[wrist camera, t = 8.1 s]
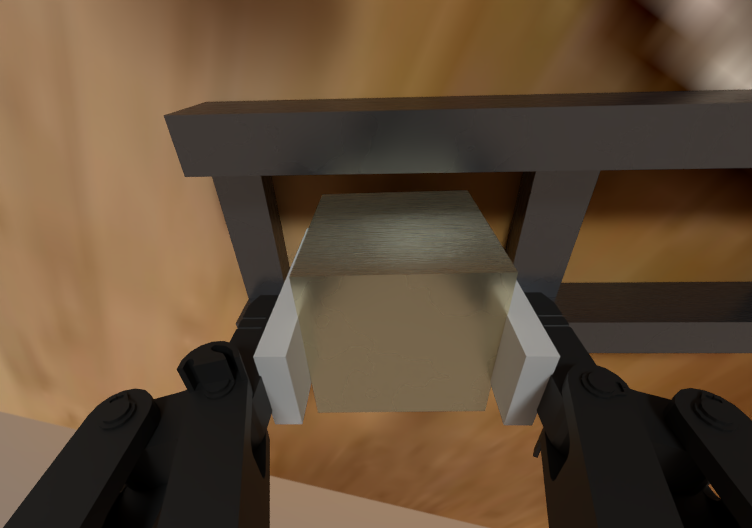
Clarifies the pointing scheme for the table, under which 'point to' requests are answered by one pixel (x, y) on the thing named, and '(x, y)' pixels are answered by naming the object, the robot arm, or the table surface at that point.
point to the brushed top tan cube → (401, 302)
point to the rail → (492, 154)
